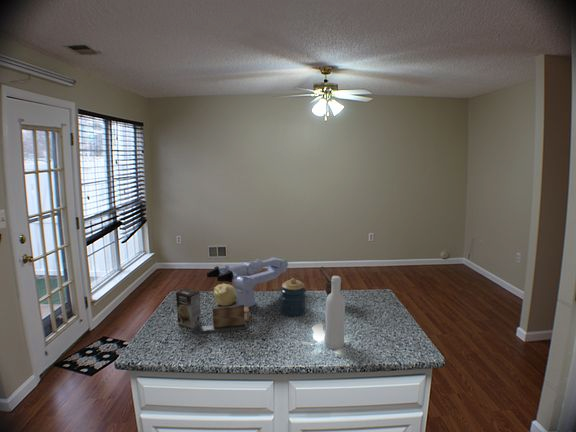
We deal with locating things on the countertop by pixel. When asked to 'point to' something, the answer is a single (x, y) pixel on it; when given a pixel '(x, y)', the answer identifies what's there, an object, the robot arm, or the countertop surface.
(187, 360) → the countertop surface
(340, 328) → the bottle
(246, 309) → the cube
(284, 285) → the canister
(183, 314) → the coffee box
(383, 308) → the countertop surface
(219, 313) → the panel
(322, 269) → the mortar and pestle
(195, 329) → the rail
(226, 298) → the sculpture
